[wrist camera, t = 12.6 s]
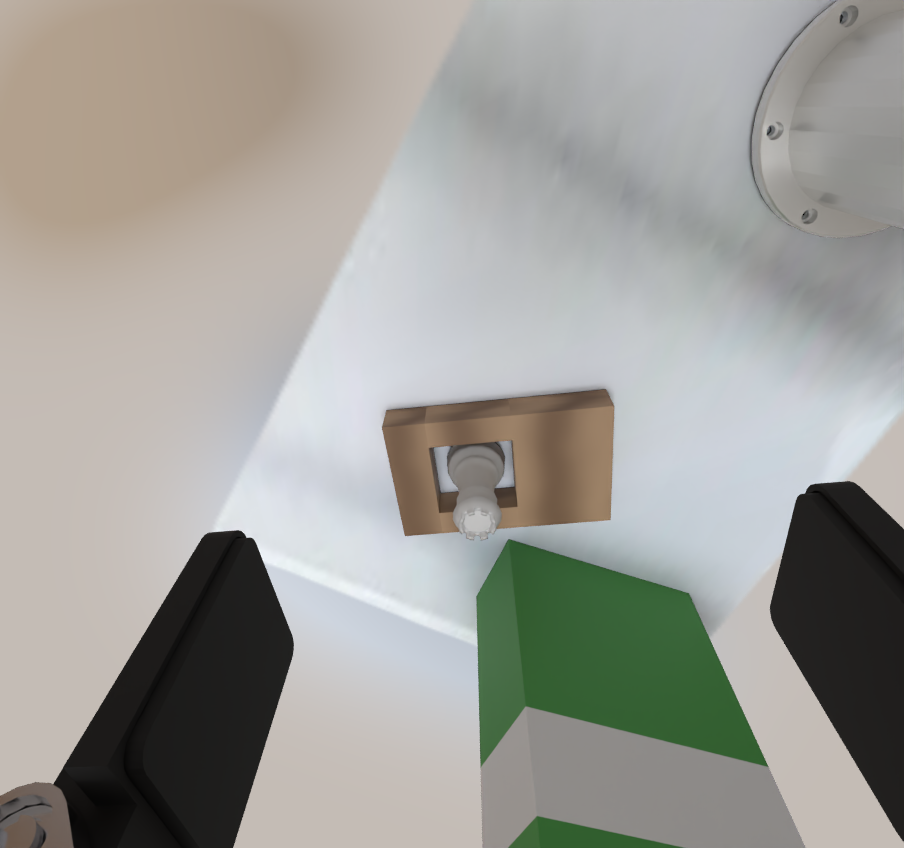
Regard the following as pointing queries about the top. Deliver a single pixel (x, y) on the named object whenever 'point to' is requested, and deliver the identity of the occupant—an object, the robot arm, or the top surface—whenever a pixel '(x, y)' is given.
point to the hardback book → (611, 717)
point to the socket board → (534, 458)
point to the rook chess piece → (476, 487)
